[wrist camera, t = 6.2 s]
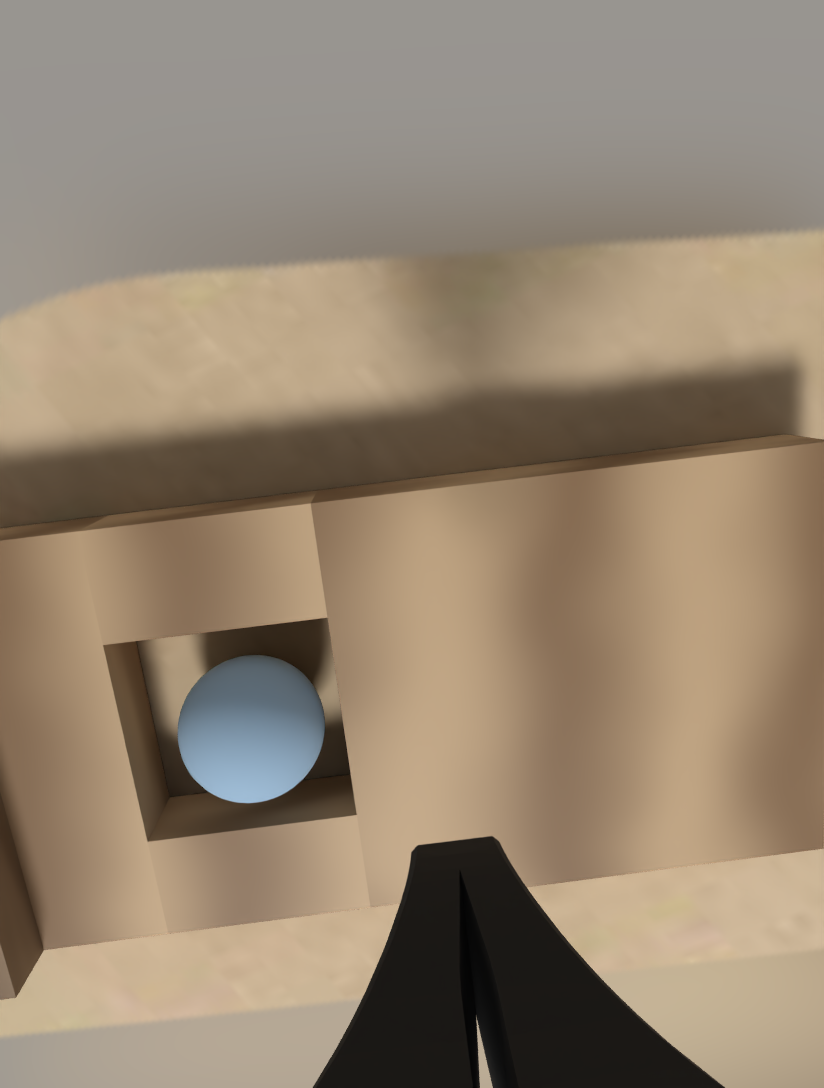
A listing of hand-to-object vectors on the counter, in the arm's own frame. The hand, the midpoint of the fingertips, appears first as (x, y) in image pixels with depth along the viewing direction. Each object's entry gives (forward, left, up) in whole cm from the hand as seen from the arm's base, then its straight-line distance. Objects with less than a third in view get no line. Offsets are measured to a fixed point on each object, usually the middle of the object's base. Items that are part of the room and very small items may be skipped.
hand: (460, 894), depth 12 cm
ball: (+5, 0, -7) cm, 8 cm away
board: (+1, 0, -9) cm, 9 cm away
